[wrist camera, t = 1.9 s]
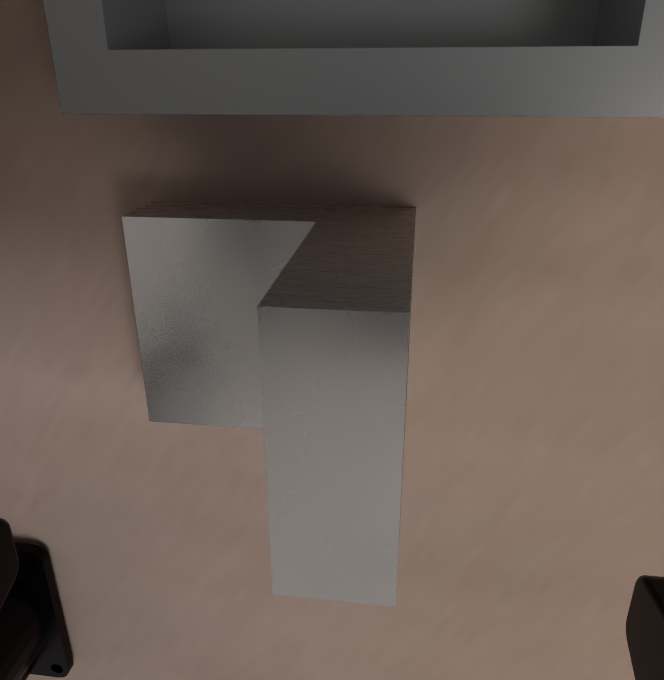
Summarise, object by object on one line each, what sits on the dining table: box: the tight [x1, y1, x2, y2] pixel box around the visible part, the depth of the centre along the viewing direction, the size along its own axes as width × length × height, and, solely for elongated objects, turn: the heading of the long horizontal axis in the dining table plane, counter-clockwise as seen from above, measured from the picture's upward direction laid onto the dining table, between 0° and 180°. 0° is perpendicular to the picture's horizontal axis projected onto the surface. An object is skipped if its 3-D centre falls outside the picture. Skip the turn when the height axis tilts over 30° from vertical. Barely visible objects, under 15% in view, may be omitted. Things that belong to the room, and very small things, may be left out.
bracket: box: [122, 201, 416, 607], centre depth 15 cm, size 6×7×8 cm
